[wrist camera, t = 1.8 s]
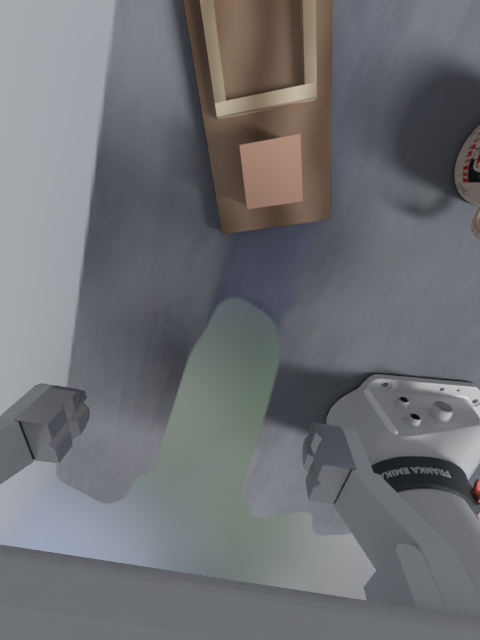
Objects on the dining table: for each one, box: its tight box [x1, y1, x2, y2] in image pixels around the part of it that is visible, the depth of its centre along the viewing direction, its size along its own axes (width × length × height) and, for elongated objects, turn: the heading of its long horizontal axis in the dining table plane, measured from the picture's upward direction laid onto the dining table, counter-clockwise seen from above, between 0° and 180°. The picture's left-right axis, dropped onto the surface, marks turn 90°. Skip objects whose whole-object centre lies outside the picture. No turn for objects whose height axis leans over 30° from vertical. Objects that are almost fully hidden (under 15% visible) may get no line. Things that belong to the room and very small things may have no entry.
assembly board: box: [183, 0, 332, 234], centre depth 25 cm, size 12×20×3 cm, turn 8°
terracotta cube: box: [239, 134, 303, 209], centre depth 25 cm, size 5×5×5 cm
